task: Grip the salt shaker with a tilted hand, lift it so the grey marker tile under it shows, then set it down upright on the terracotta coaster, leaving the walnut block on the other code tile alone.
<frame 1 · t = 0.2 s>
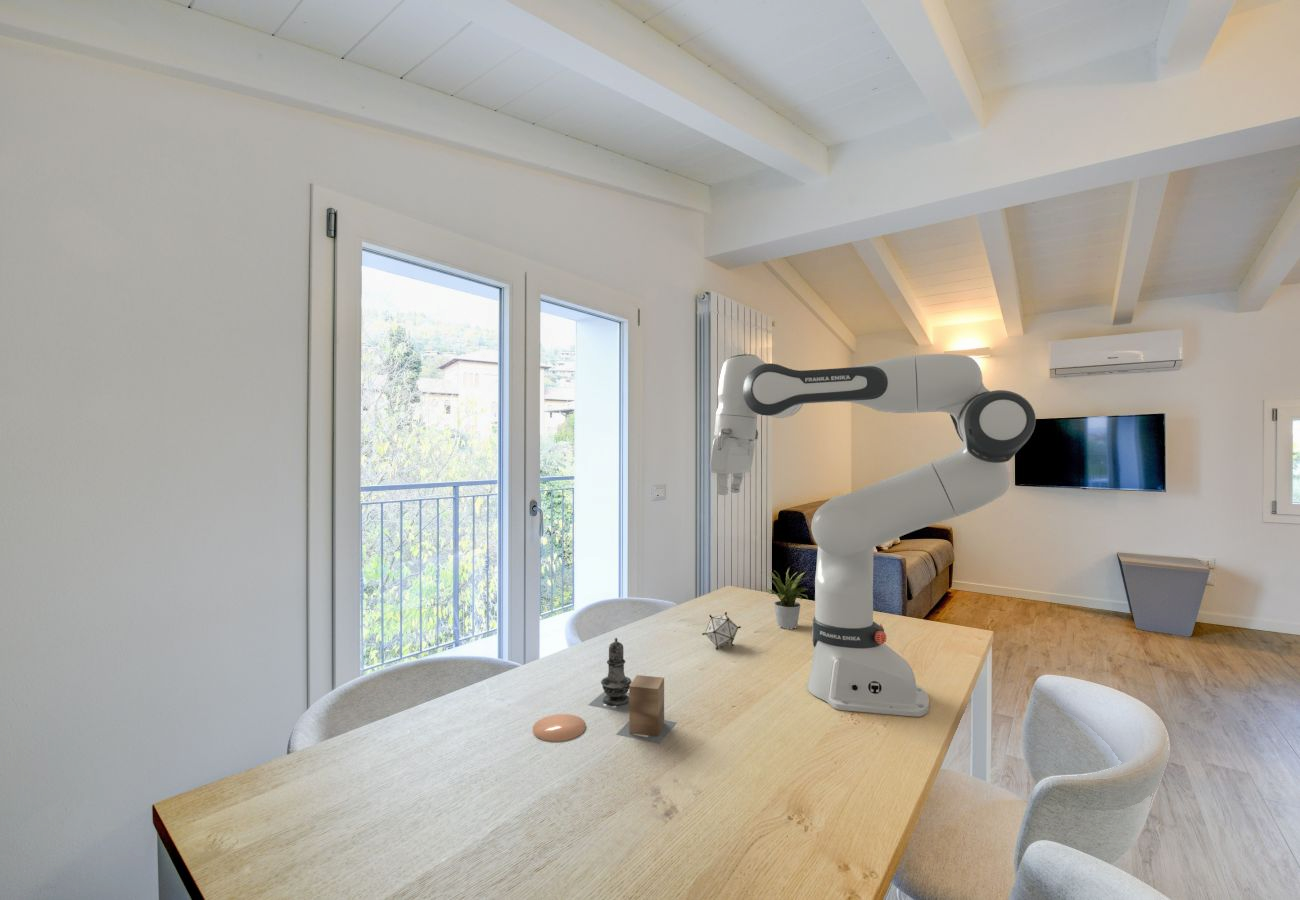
hand: (729, 493, 124), 39 cm above the table, tool pointing down, fingers open, 8 cm apart
code tile block: (647, 729, 100), on the table
grey marker tile: (616, 701, 111), on the table
walnut block: (647, 728, 100), resting on code tile block
house plant: (782, 627, 158), on the table
white icosahedron model: (721, 647, 142), on the table
coaster: (559, 729, 100), on the table
salt shaker: (616, 700, 111), resting on grey marker tile
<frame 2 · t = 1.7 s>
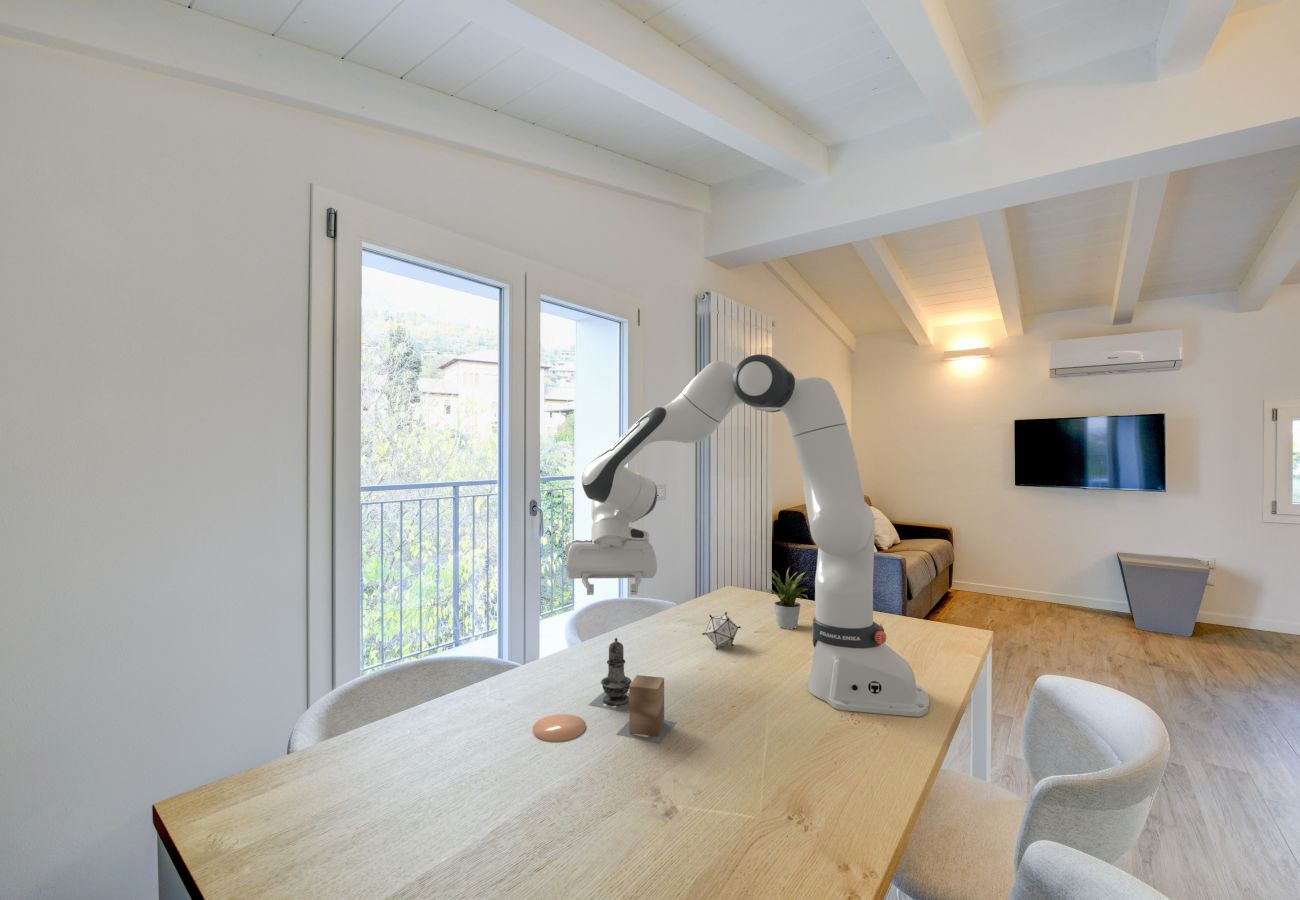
hand: (612, 593, 123), 18 cm above the table, tool tilted 45°, fingers open, 8 cm apart
nothing on the table moved.
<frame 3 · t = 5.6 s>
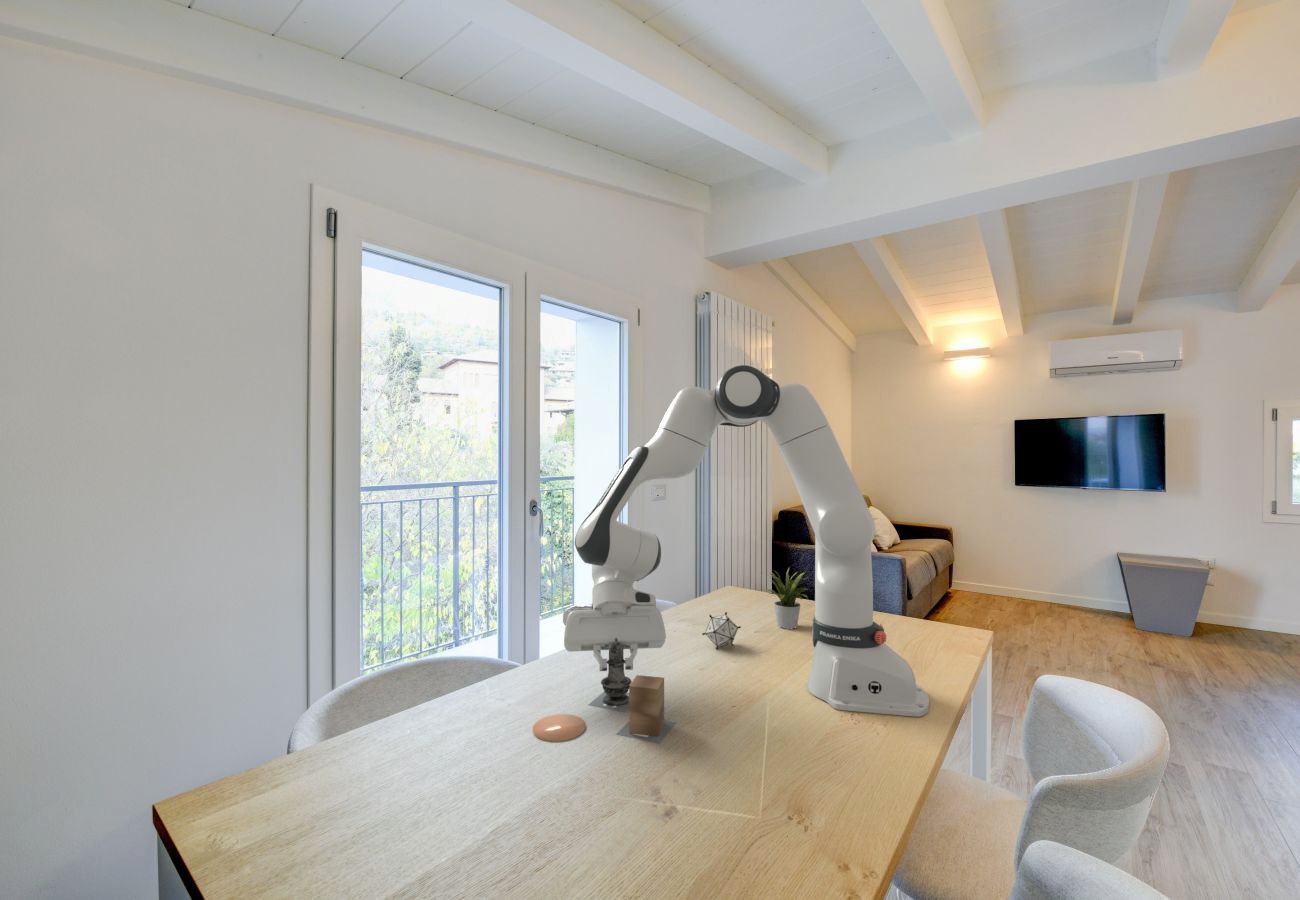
hand: (616, 669, 110), 6 cm above the table, tool tilted 45°, fingers closed on salt shaker, 4 cm apart
salt shaker: (616, 700, 111), resting on grey marker tile, touching gripper
everything else where it was.
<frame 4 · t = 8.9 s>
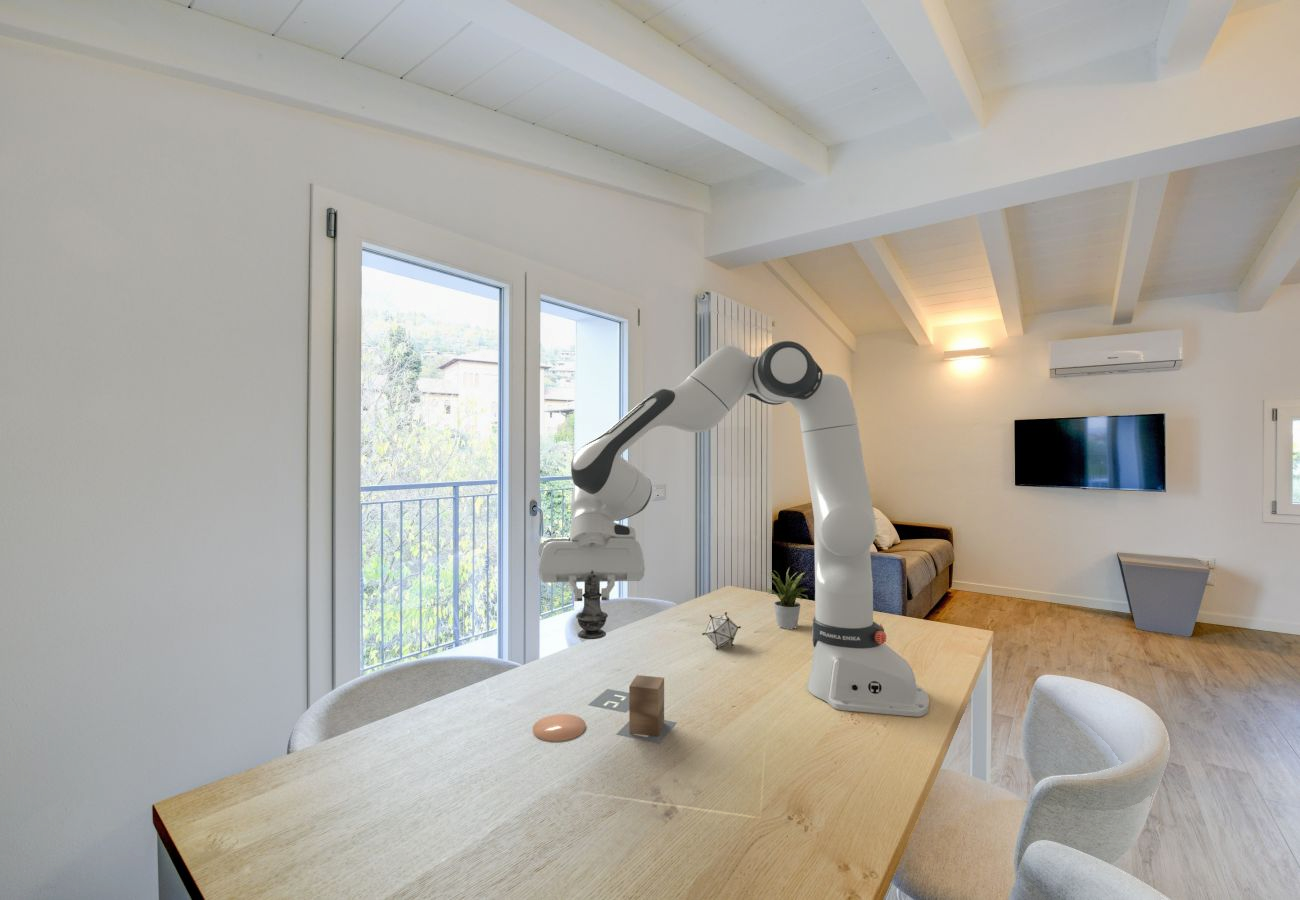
hand: (591, 599, 106), 21 cm above the table, tool tilted 45°, fingers closed on salt shaker, 4 cm apart
salt shaker: (591, 635, 107), point 14 cm above the table, touching gripper
everything else where it was.
when the fingers open (8 cm above the table, at t = 12.0 s): salt shaker stays where it is, resting on coaster.
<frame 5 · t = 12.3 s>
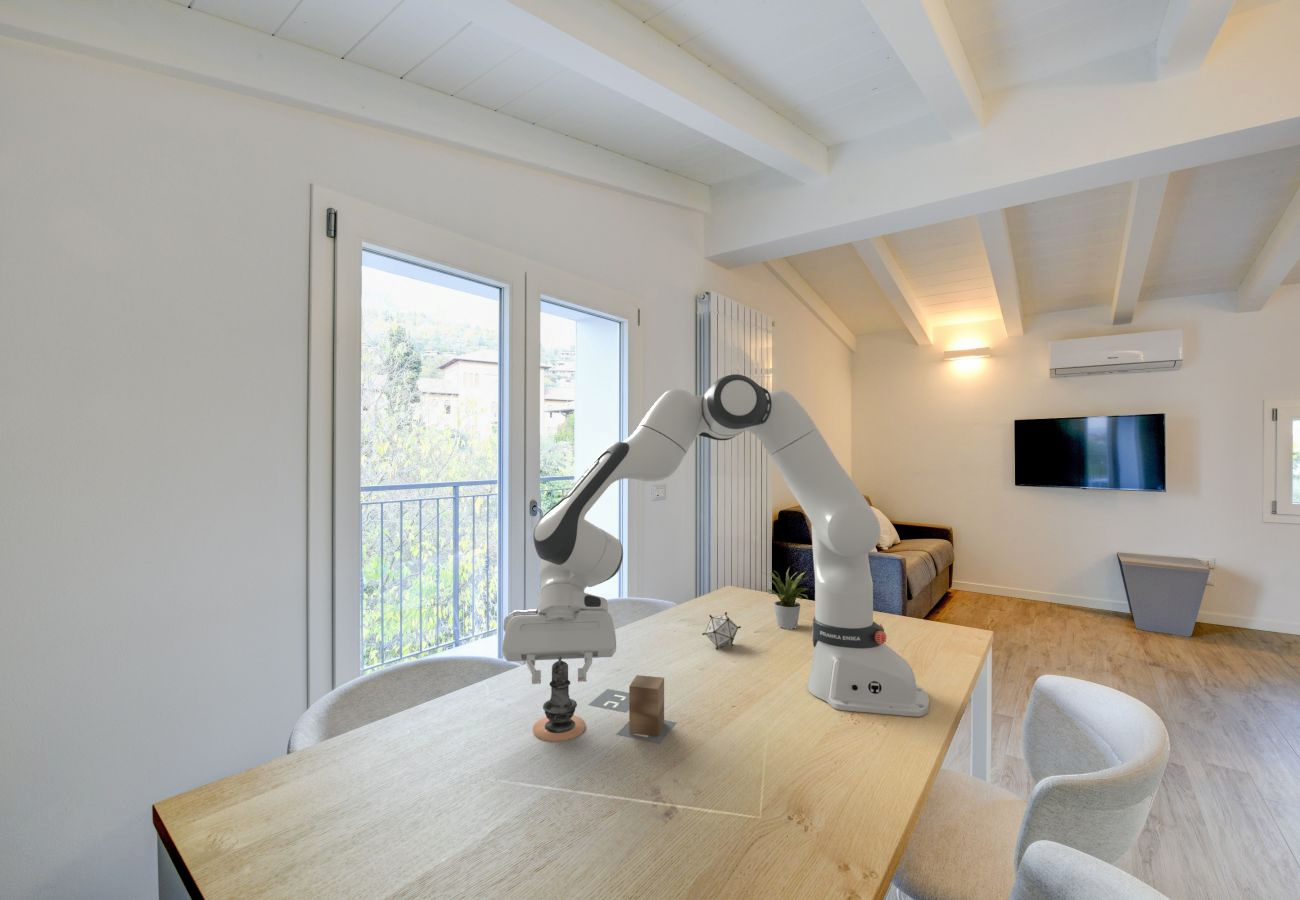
hand: (559, 681, 99), 9 cm above the table, tool tilted 45°, fingers open, 6 cm apart
salt shaker: (560, 726, 100), resting on coaster
everything else where it was.
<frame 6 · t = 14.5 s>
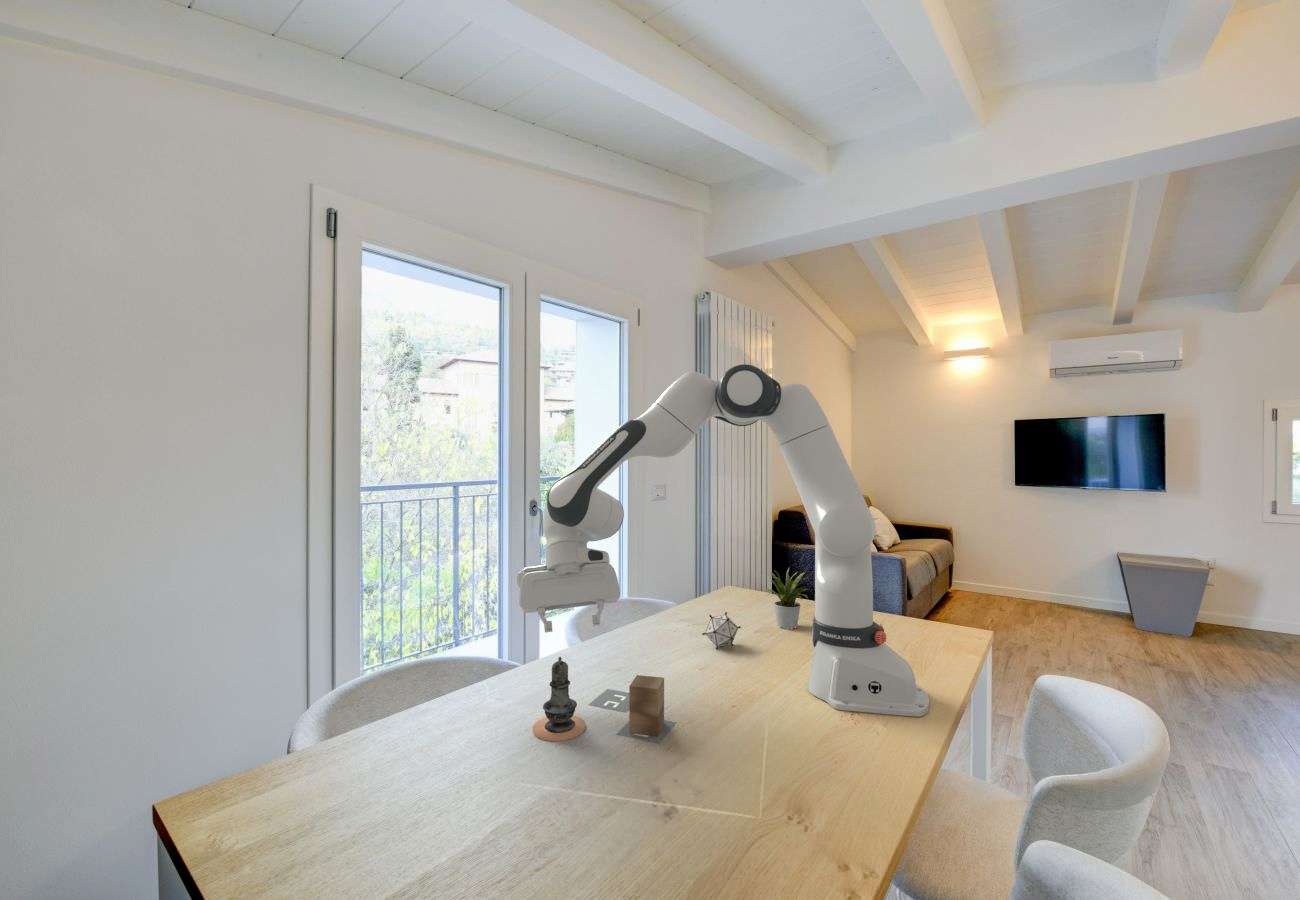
hand: (572, 628, 113), 13 cm above the table, tool tilted 35°, fingers open, 8 cm apart
nothing on the table moved.
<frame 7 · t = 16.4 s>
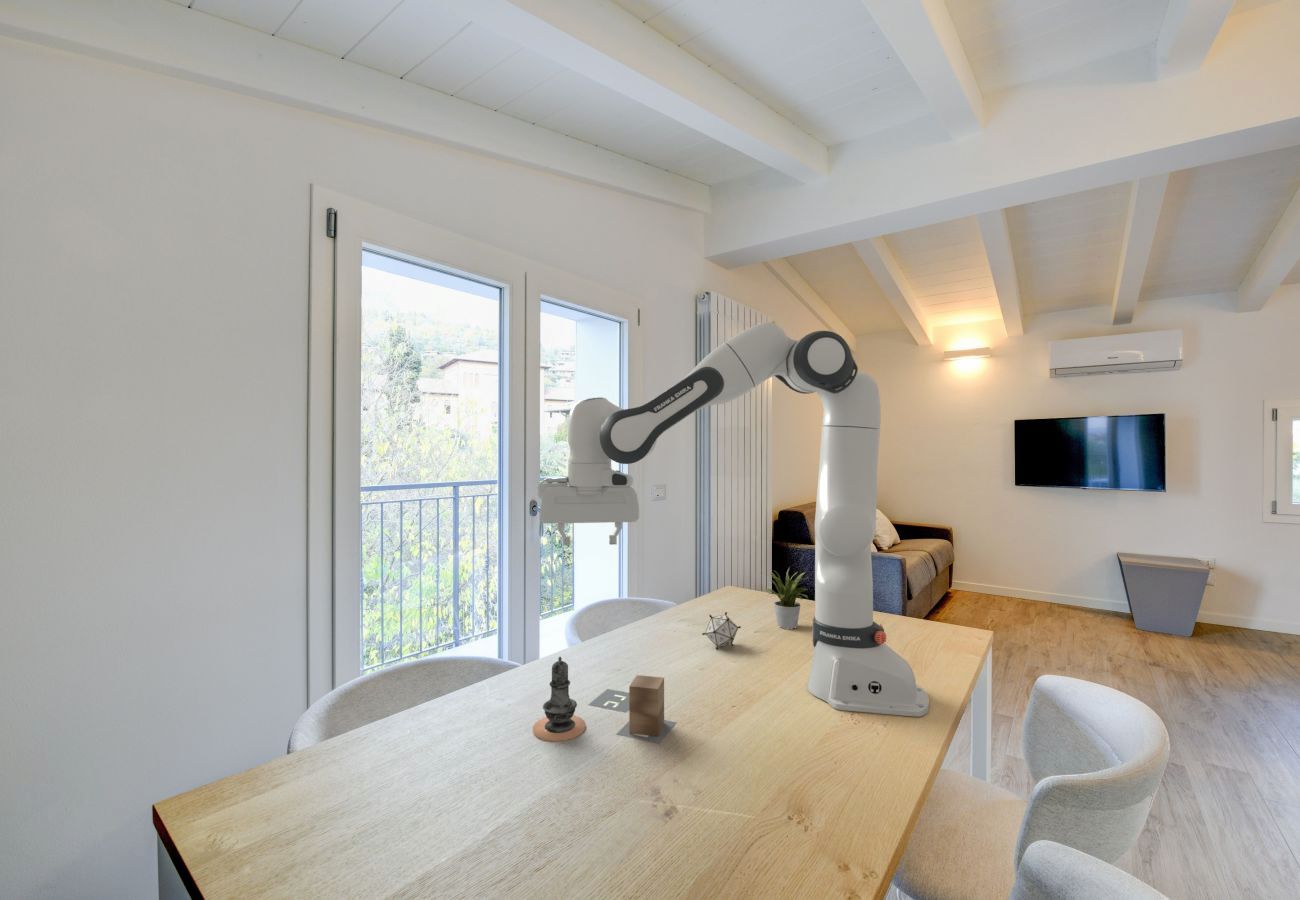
hand: (589, 544, 118), 29 cm above the table, tool pointing down, fingers open, 8 cm apart
nothing on the table moved.
at the end: salt shaker inside the target area on the coaster (0.1 cm from its centre), point 0.4 cm above the coaster's base; salt shaker tilted 0°; walnut block moved 0.0 cm from its start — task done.
